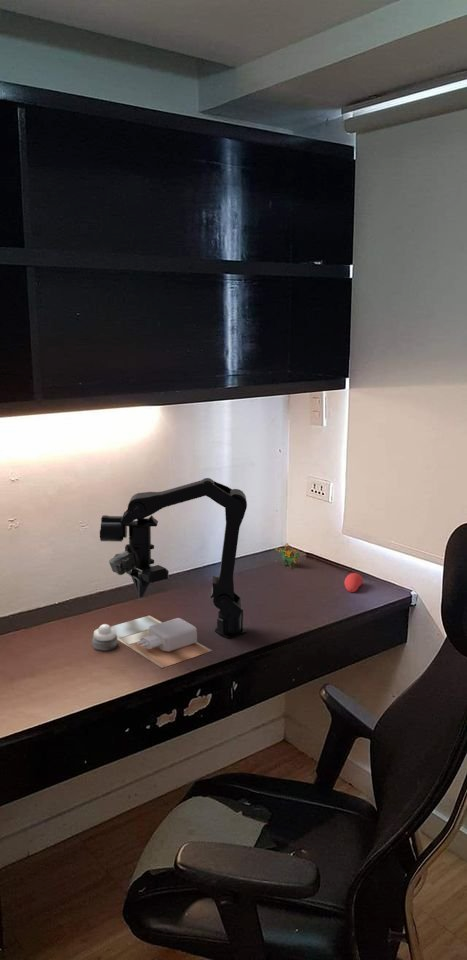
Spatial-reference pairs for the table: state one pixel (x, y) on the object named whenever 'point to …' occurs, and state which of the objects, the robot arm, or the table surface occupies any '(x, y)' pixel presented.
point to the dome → (104, 633)
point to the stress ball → (353, 582)
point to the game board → (131, 636)
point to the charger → (170, 635)
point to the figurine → (289, 556)
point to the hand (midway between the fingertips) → (140, 596)
